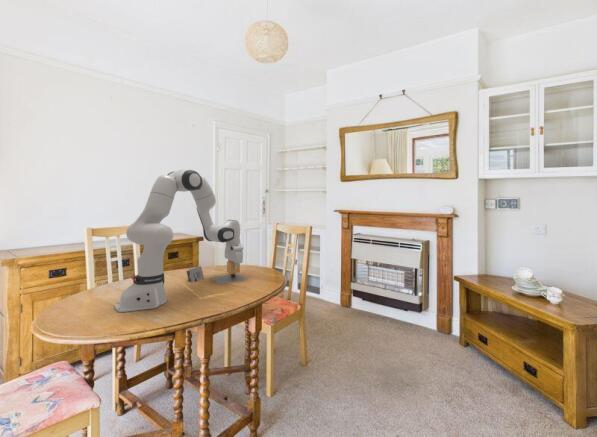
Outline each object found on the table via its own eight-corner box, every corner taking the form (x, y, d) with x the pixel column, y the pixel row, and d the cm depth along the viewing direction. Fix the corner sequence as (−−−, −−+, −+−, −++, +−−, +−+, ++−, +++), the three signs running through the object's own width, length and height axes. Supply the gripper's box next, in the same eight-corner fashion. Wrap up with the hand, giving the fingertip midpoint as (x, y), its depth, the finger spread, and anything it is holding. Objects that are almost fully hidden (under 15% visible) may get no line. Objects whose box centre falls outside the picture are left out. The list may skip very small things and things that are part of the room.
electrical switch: (192, 285, 183) (191, 269, 183) (186, 284, 186) (185, 269, 186) (204, 281, 192) (203, 266, 191) (198, 280, 194) (197, 265, 194)
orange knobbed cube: (230, 273, 193) (230, 260, 192) (226, 271, 198) (226, 259, 197) (239, 272, 196) (239, 259, 195) (235, 270, 201) (235, 258, 200)
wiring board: (219, 286, 181) (219, 277, 180) (210, 280, 194) (209, 271, 193) (248, 281, 191) (248, 273, 190) (237, 276, 204) (237, 267, 203)
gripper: (221, 243, 202) (222, 265, 203) (234, 248, 185) (235, 272, 186) (231, 243, 206) (231, 264, 207) (244, 247, 189) (244, 270, 190)
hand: (233, 267), depth 197 cm, fingers closed on orange knobbed cube, 6 cm apart
